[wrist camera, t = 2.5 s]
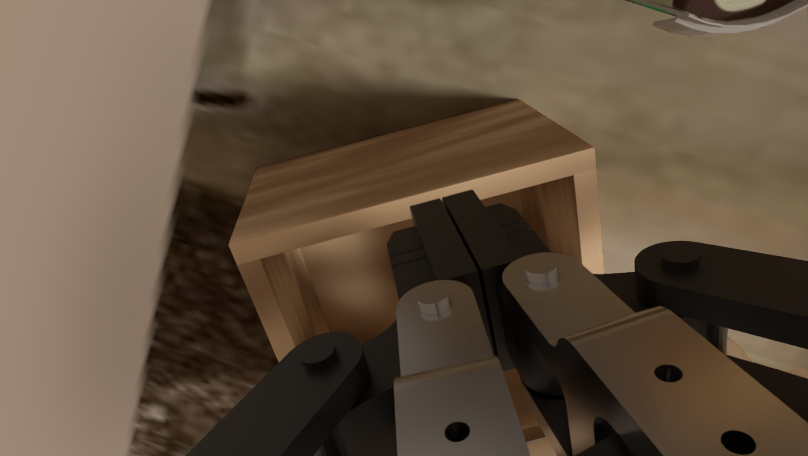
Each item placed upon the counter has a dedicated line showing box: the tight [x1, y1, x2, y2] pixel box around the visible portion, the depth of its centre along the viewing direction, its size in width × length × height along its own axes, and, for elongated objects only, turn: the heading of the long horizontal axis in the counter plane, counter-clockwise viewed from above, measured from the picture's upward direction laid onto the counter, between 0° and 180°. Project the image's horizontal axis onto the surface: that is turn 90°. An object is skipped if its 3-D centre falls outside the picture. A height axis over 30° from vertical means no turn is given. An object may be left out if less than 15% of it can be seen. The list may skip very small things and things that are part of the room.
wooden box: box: [229, 99, 604, 442], centre depth 31 cm, size 16×16×10 cm
